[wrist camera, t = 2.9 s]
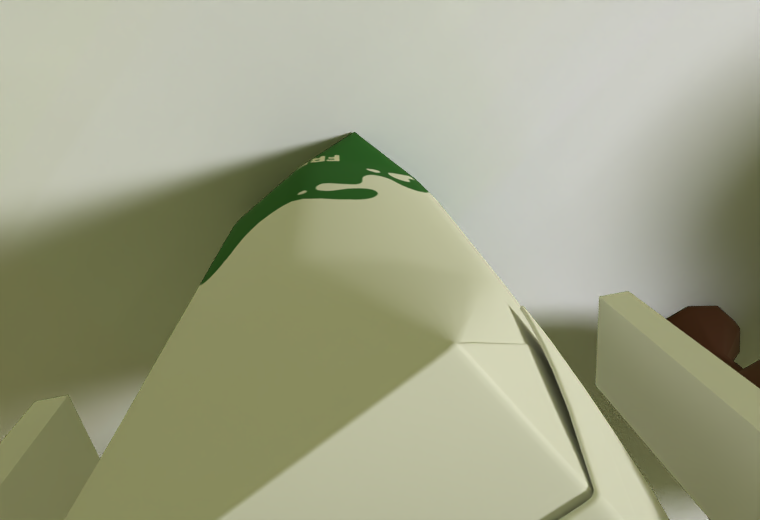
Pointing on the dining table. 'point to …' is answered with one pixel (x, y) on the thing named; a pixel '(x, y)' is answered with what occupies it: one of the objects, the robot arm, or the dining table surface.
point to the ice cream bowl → (715, 336)
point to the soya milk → (360, 378)
